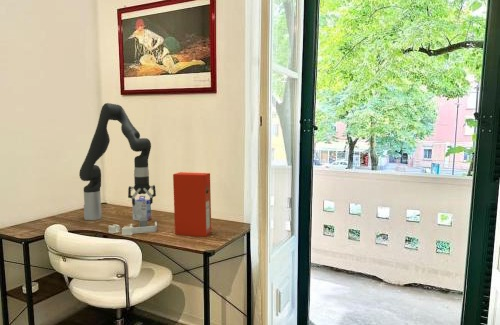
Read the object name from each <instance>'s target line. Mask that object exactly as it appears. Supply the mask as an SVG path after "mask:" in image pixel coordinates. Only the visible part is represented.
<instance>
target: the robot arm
mask: <svg viewBox="0 0 500 325" xmlns="http://www.w3.org/2000/svg"><path fill="white" fill-rule="evenodd" d="M110 120H111V121H118V122H119V123H120V124H121V127H120V129H121V133H122V135H123V136H124V137H125V138H126V140H127V141H128V144H129V147H130V149H131V150H132V151H133V152H139V153H140V154H139V155H136V156H135V157H134V171H133V172H134V174H133V176H134V177H133V178H134V186H128V190H127V192H128V193H127V197H128V199H131V205H133V206H135V200H136V199H135V198H136V197H137V195H138V194H139V195H146V194H147V196H149V200H150V205H152V204H153V203H154V202H153V201H154V200H153V198H154V197H155V198H156V196H157V193H156V186H155V185H156V184H153V185H150V170H149V158H150V153H151V149H152V143H151V140H150V139H149V138H146V137H143V138H141V134H140V131H138V130H137V129H136V127H135V125H133V124H132V122H131V120H130V119H129V116H128V115H127V113H126V111H125V109H124V108H123V106H121V105H120V104H117V103H116V104H115V103H110V102H107V103H103V105H102V106H101V109H100V113H99V117H98V120H97V125H96V129H95V132H94V134H93V136H92V139H91V142H90V145H89V149H88V150H87V151H88V152H87V154H86V156H85V158H84V160H83V162H82V164H81V167H80V170H79V176H78V177H79V179H80V180H81V181H83V182H89V183H88V184H87V185H85V186H84V187H83V200H84V202H83V215H84V216H83V218H84V221H95V220H100V219H102V201H101V200H102V199H101V187H102V170H101V168H100V166H99V165H97V164H96V163H97V161H98V160H99V159H100V158H101V157H102V156H103V155H105V153H106V151H107V150H108V148H109V144H110V140H111V139H110V135H109V132H108V123H109V121H110ZM150 189H151V190H152V193H153V194H152V193H151V192H150ZM133 190H134V191H135V192H134V193H133V194H132V191H133Z"/></svg>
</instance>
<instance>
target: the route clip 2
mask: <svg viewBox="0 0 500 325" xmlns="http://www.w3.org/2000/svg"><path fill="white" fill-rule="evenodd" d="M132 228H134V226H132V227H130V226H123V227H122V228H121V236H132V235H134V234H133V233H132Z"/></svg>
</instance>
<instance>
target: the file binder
mask: <svg viewBox="0 0 500 325" xmlns="http://www.w3.org/2000/svg"><path fill="white" fill-rule="evenodd" d="M172 179H173V180H172V182H173V183H172V184H173V213H174V217H173V218H174V234H175V235H178V236H190V237H200V236H201V237H202V238H207V237H208V236H209V235H210V234H211V233H212V205H211V204H212V202H211V173H210V172H183V171H182V172H181V171H180V172H176V173H173V174H172Z"/></svg>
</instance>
